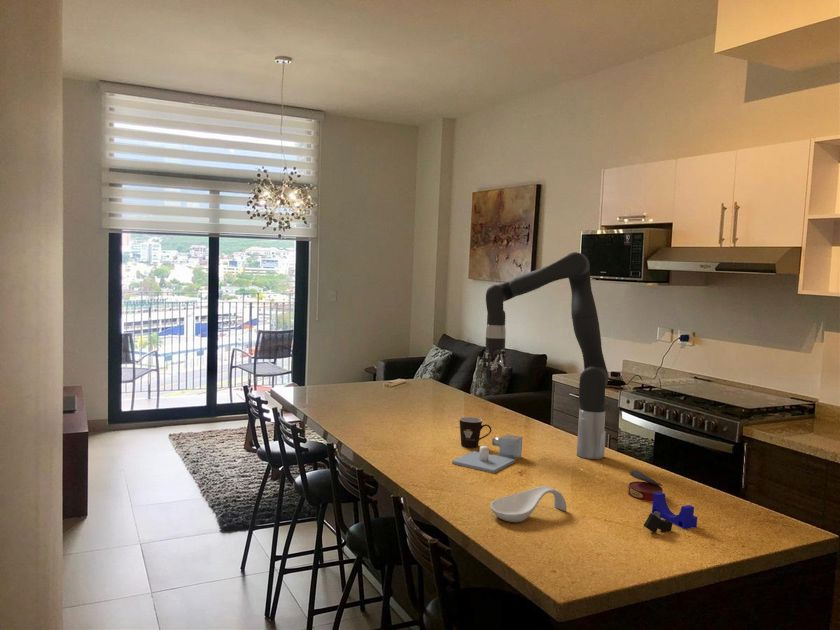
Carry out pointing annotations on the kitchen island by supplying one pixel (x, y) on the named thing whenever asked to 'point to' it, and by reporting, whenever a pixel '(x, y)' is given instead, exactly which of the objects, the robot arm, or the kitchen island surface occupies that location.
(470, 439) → the coffee mug
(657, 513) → the black notched bracket
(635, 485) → the canned food
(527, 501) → the spoon rest
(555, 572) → the kitchen island surface
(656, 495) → the cable clip
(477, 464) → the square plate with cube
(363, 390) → the kitchen island surface
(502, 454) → the cube on steel peg
